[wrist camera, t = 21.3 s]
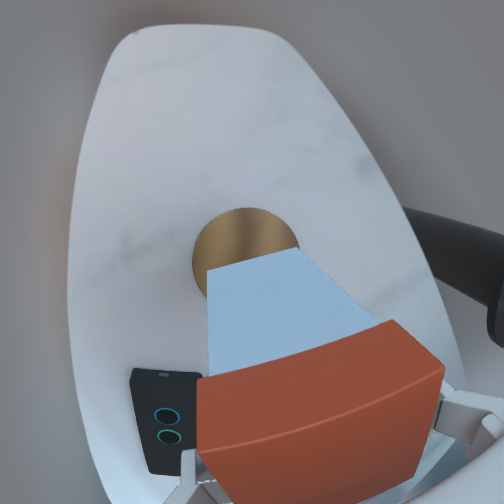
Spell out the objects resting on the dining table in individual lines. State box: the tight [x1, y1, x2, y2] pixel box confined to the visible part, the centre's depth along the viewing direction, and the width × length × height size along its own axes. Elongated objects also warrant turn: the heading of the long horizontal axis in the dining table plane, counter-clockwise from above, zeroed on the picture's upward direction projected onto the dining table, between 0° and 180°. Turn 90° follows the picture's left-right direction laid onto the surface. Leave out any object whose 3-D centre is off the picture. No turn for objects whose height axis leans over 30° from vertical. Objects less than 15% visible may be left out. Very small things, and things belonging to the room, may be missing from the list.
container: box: [196, 247, 445, 504], centre depth 14 cm, size 7×14×7 cm
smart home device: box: [130, 368, 202, 476], centre depth 32 cm, size 8×2×20 cm
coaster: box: [192, 208, 300, 297], centre depth 28 cm, size 10×10×1 cm
